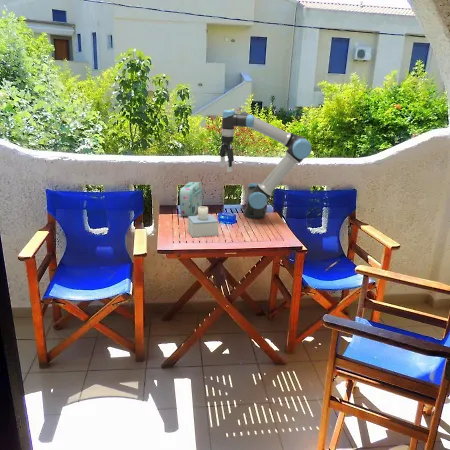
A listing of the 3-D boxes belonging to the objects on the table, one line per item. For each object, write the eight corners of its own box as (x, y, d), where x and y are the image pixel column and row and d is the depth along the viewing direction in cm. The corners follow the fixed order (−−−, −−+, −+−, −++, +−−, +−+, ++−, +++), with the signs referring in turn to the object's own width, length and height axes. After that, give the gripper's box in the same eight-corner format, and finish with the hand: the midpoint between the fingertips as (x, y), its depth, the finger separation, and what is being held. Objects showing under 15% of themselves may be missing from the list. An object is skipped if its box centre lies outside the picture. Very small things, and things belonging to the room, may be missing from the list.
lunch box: (193, 219, 279) (193, 188, 271) (178, 218, 280) (178, 187, 273) (203, 208, 303) (204, 179, 296) (189, 206, 305) (190, 177, 298)
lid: (212, 216, 262) (212, 214, 262) (218, 222, 252) (218, 221, 251) (188, 217, 257) (188, 216, 257) (193, 224, 247) (193, 222, 246)
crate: (212, 228, 265) (212, 216, 262) (218, 235, 255) (218, 222, 252) (187, 230, 260) (187, 218, 257) (192, 237, 249) (192, 224, 247)
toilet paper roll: (206, 216, 258) (206, 205, 255) (208, 220, 252) (209, 208, 250) (196, 217, 256) (197, 206, 253) (199, 220, 251) (199, 209, 248)
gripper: (215, 132, 271) (214, 165, 278) (228, 139, 249) (226, 173, 256) (226, 132, 273) (224, 164, 281) (240, 138, 251) (238, 173, 259)
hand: (225, 169), depth 269 cm, fingers open, 13 cm apart
